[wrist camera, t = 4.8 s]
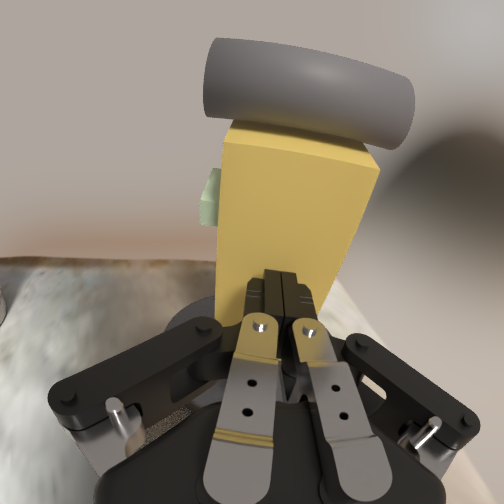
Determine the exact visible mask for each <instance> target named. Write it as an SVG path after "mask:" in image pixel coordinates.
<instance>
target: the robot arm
mask: <svg viewBox="0 0 504 504" xmlns="http://www.w3.org/2000/svg"><path fill="white" fill-rule="evenodd" d="M6 310H7V309H6V303H5V300H4V297H3V294H2V289H1V286H0V324H1V323H2V321H3V319H4V317H5V315H6ZM278 359H281V367H280V370H279V378H280V385H281V392H282V400H283V402H280V401H276V389H277V375H278ZM364 375H366V376H367V377H368V378H369V379H371V380H372V381H373V382H375V383H376V384H377V385H378V386H380V387H381V388H382V389H383V390H384V391H385V392H386V396H387V397H386V400H385V399H383V398H382V397H380V396H379V395H378V394H377V393H375V392H374V391H373V390H372V389H370V388H369V387H368V386H367V385H365V384H364V383H363V382H362V379H363V377H364ZM220 379H227V383H226V388H225V392H224V396H223V400H222V401H220V402H215V403H212V404H209V405H206V406H204V407H202V408H200V409H198V410H197V411H195V412H194V413H192V414H191V415H190V416H188V417H187V418H185V419H184V420H183V421H181V422H180V423H179V424H177V425H176V426H174V427H173V428H171V429H170V430H169V431H167V432H166V433H164V434H163V435H161V436H160V437H158V438H157V439H155V440H154V441H152V442H151V443H149V444H148V445H146V446H145V447H143V448H142V449H140V450H139V451H137V452H136V453H135V451H136V450H137V449H139V448H140V447H141V446H142V445H143V444H144V442H145V439H146V431H145V429H147V428H149V427H150V426H152V425H154V424H155V423H157V422H158V421H160V420H162V419H163V418H165V417H167V416H168V415H170V414H171V413H173V412H175V411H176V410H178V409H179V408H181V407H182V406H184V405H185V404H187V403H189V402H190V401H192V400H193V399H195V398H196V397H198V396H199V395H201V394H202V393H204V392H205V391H206V390H208V389H209V388H211V387H212V386H214V385H215V384H216V383H217V381H218V380H220ZM48 403H49V406H50V407H51V409H52V411H53V412H54V414H55V415H56V417H57V419H58V421H59V423H60V424H61V426H62V427H63V429H64V430H65V432H66V433H67V434H68V436H69V437H70V438H71V439H72V440H73V441H74V442H75V443H76V445H77V446H78V447H79V449H80V450H81V451H82V452H83V454H84V456H85V457H86V459H87V460H88V462H89V463H90V464H91V466H92V467H93V469H94V470H95V472H96V473H97V474H98V476H99V477H100V479H99V480H98V482H97V484H96V487H95V490H94V504H446V492H445V488H444V486H443V484H442V482H441V479H442V477H443V475H444V474H445V472H446V471H447V469H448V467H449V466H450V464H451V462H452V460H453V459H454V457H455V455H456V453H457V452H458V451H459V450H460V449H462V448H463V447H464V446H465V445H466V444H467V443H468V442H469V441H470V440H471V439H473V438H474V437H475V436H476V435H477V434H478V433H479V431H480V421H479V418H478V417H477V415H476V414H475V413H474V412H473V411H472V410H470V409H469V408H467V407H466V406H465V405H463V404H462V403H461V402H459V401H458V400H456V399H455V398H454V397H452V396H451V395H449V394H448V393H447V392H445V391H444V390H442V389H441V388H440V387H438V386H437V385H436V384H434V383H433V382H431V381H430V380H429V379H427V378H426V377H424V376H423V375H422V374H420V373H419V372H418V371H416V370H415V369H413V368H412V367H410V366H409V365H408V364H406V363H405V362H404V361H402V360H401V359H400V358H398V357H397V356H395V355H394V354H393V353H391V352H390V351H389V350H387V349H386V348H384V347H383V346H382V345H380V344H379V343H377V342H376V341H375V340H373V339H372V338H370V337H369V336H367V335H364V334H360V333H354V334H351V335H349V336H348V337H347V338H346V341H345V340H342V339H338V338H335V337H332V336H330V335H328V333H327V330H326V328H325V326H324V325H323V324H322V323H320V322H319V321H318V318H317V314H316V310H315V306H314V301H313V299H312V293H311V290H310V289H309V288H308V287H307V286H306V285H305V284H299V283H298V281H297V276H296V273H293V272H286V271H278V270H270V269H264V273H263V279H260V278H253V277H252V278H251V280H250V281H249V282H248V283H247V289H246V296H245V303H244V310H243V319H242V321H241V322H239V323H238V324H236V325H233V326H227V327H222V325H221V323H220V322H218V321H217V320H216V319H213V318H211V317H205V316H200V317H195V318H192V319H190V320H188V321H186V322H184V323H182V324H180V325H178V326H176V327H174V328H172V329H170V330H168V331H166V332H164V333H162V334H160V335H158V336H156V337H154V338H151V339H149V340H147V341H145V342H143V343H141V344H139V345H137V346H135V347H133V348H131V349H129V350H126V351H124V352H122V353H120V354H118V355H116V356H114V357H112V358H109V359H107V360H105V361H103V362H101V363H99V364H96V365H94V366H92V367H90V368H88V369H85V370H83V371H81V372H79V373H77V374H74V375H72V376H70V377H68V378H65V379H63V380H61V381H59V382H57V383H55V384H54V385H53V386H52V387H51V389H50V390H49V393H48Z"/></svg>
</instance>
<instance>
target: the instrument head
mask: <svg viewBox="0 0 504 504" xmlns="http://www.w3.org/2000/svg"><path fill="white" fill-rule="evenodd" d="M203 104H204V111H205V114H206V116H207V117H212V118H225V119H234V120H233V122H232V125H231V126H230V129H229V131H228V133H227V135H226V137H225V139H224V142H223V154H222V168H221V169H217V168H213V170H212V172H211V175H210V177H209V179H208V182H207V184H206V187H205V189H204V192H203V194H202V196H201V199H200V224H202V225H209V226H217V227H218V237H217V259H216V286H215V319H216V320H217V321H218V322H220V323H221V325H222V327H227V326H233V325H236V324H238V323H239V322H241V321H242V319H243V310H244V303H245V296H246V289H247V283H248V282H249V281H250V280H251V278H252V277H253V278H260V279H263V273H264V269H270V270H278V271H286V272H293V273H296V276H297V281H298V283H299V284H305V285H306V286H307V287H308V288H309V289H310V290H311V293H312V299H313V301H314V306H315V310H316V314H317V315H318V313H319V311H320V309H321V307H322V305H323V303H324V301H325V299H326V297H327V295H328V292H329V290H330V288H331V286H332V284H333V282H334V280H335V278H336V276H337V273H338V271H339V269H340V267H341V265H342V263H343V260H344V258H345V256H346V253H347V251H348V249H349V247H350V244H351V242H352V240H353V238H354V235H355V233H356V230H357V228H358V226H359V223H360V221H361V218H362V216H363V213H364V210H365V209H366V206H367V204H368V201H369V198H370V196H371V193H372V191H373V188H374V185H375V183H376V180H377V177H378V175H379V172H380V169H379V167H378V166H377V164H376V163H375V161H374V159H373V158H372V156H371V155H370V153H369V152H368V150H367V149H366V147H365V146H364V144H363V143H366V144H370V145H374V146H377V147H382V148H385V149H388V150H393V149H396V148H397V147H399V146H400V144H401V143H402V142H403V141H404V139H405V138H406V136H407V134H408V132H409V130H410V127H411V124H412V120H413V116H414V110H415V95H414V89H413V86H412V84H411V82H410V80H409V79H408V78H406V77H404V76H402V75H399V74H396V73H394V72H391V71H388V70H385V69H382V68H379V67H376V66H373V65H370V64H367V63H364V62H360V61H357V60H353V59H349V58H346V57H342V56H338V55H334V54H330V53H326V52H321V51H317V50H312V49H307V48H302V47H296V46H291V45H283V44H277V43H270V42H263V41H254V40H243V39H230V38H216V39H214V41H213V43H212V45H211V47H210V50H209V54H208V57H207V62H206V67H205V74H204V84H203ZM278 360H279V361H281V359H278Z"/></svg>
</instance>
